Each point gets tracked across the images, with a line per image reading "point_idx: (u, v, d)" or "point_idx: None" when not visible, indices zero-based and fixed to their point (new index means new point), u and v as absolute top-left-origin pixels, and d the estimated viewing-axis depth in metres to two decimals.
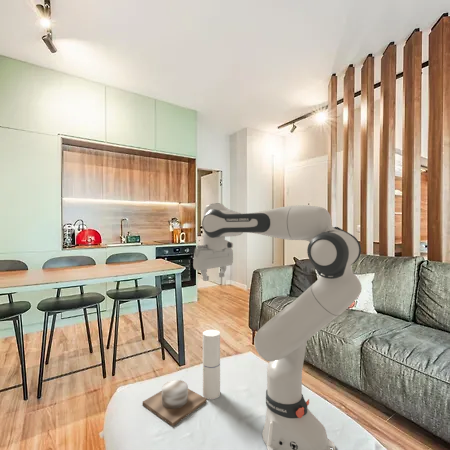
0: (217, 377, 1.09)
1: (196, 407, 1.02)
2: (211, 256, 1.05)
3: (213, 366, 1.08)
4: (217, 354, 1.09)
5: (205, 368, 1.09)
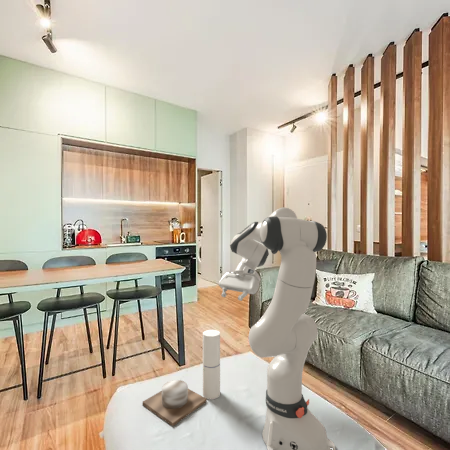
0: (217, 377, 1.09)
1: (196, 407, 1.02)
2: (232, 278, 1.28)
3: (213, 366, 1.08)
4: (217, 354, 1.09)
5: (205, 368, 1.09)
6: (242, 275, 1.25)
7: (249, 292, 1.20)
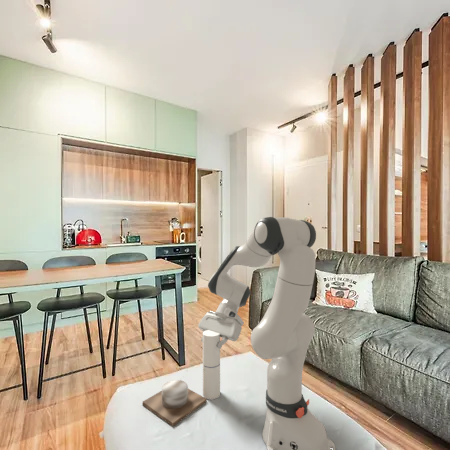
0: (217, 377, 1.09)
1: (196, 407, 1.02)
2: (213, 320, 1.17)
3: (213, 366, 1.08)
4: (217, 354, 1.09)
5: (205, 368, 1.09)
6: (223, 318, 1.14)
7: (230, 339, 1.09)
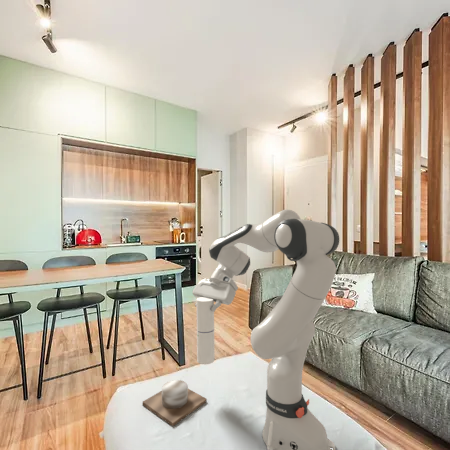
0: (211, 342, 1.08)
1: (196, 407, 1.02)
2: (207, 286, 1.17)
3: (207, 331, 1.07)
4: (211, 319, 1.08)
5: (199, 333, 1.08)
6: (217, 283, 1.14)
7: (223, 302, 1.08)
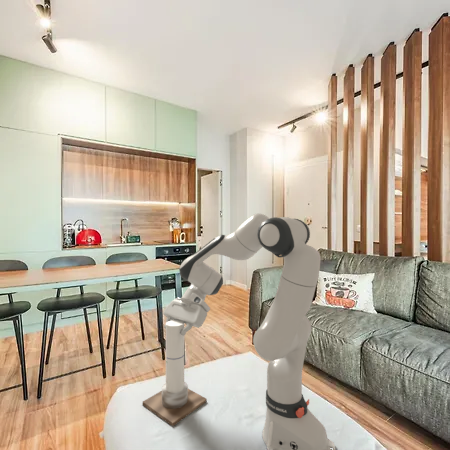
0: (180, 369, 1.03)
1: (196, 407, 1.02)
2: (178, 306, 1.12)
3: (176, 358, 1.02)
4: (180, 345, 1.03)
5: (167, 360, 1.03)
6: (188, 304, 1.09)
7: (193, 325, 1.03)
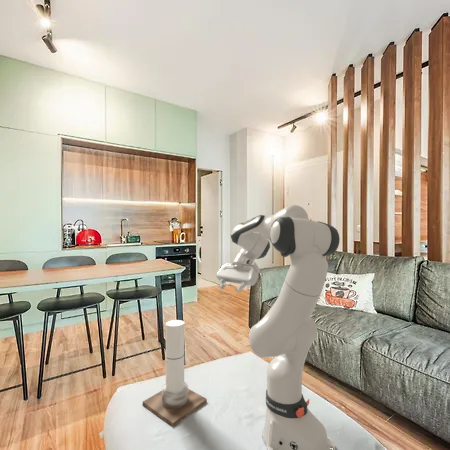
0: (180, 369, 1.03)
1: (196, 407, 1.02)
2: (230, 269, 1.24)
3: (176, 358, 1.02)
4: (180, 345, 1.03)
5: (167, 360, 1.03)
6: (240, 266, 1.21)
7: (248, 283, 1.15)
